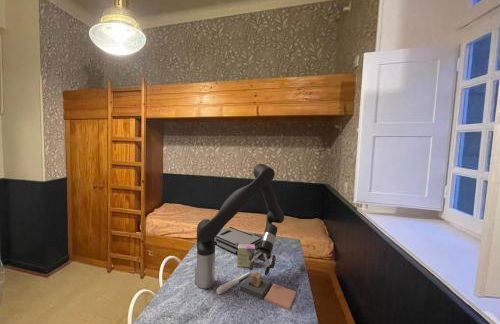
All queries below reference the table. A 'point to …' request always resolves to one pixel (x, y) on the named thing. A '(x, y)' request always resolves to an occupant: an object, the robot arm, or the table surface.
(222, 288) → the toothed blade
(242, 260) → the box
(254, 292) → the pocket frame
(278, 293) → the terracotta tile
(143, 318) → the table surface
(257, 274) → the oak block
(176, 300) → the table surface
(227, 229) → the game console
